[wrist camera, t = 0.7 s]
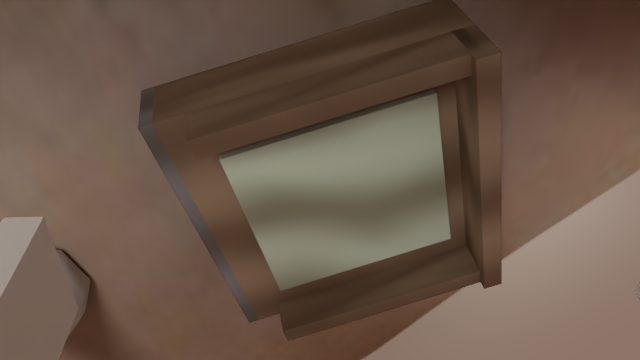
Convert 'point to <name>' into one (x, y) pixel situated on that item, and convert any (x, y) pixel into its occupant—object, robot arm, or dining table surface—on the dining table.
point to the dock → (342, 166)
